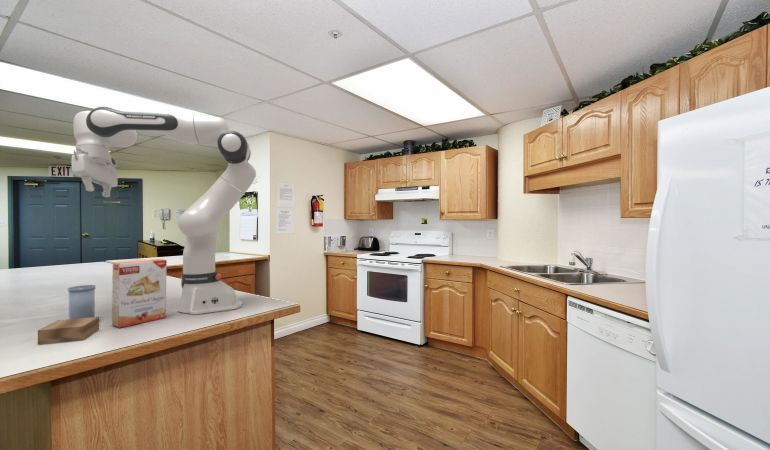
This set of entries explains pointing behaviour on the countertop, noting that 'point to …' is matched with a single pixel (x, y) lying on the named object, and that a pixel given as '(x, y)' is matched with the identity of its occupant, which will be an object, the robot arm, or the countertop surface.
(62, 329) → the plinth
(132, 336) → the countertop surface
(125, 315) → the cracker box
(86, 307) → the canister
